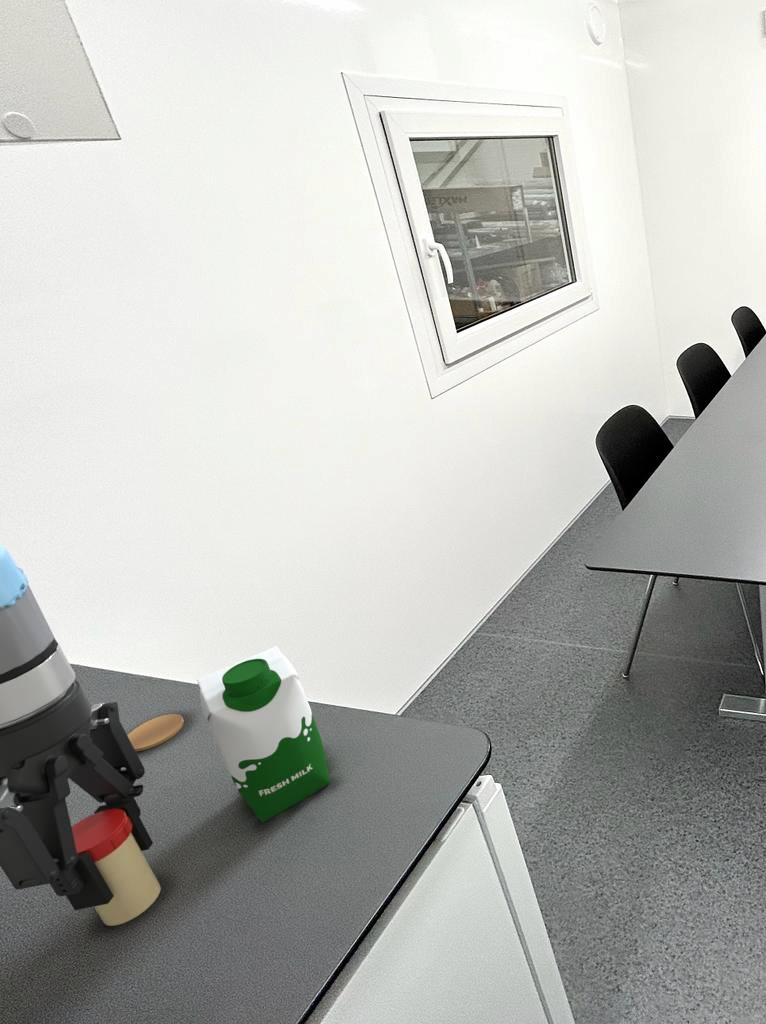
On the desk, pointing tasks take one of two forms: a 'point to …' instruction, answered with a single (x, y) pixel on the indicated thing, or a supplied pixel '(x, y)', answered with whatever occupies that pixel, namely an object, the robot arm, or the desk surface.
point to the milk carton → (265, 732)
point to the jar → (127, 883)
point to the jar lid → (101, 833)
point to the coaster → (155, 731)
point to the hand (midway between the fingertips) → (115, 874)
